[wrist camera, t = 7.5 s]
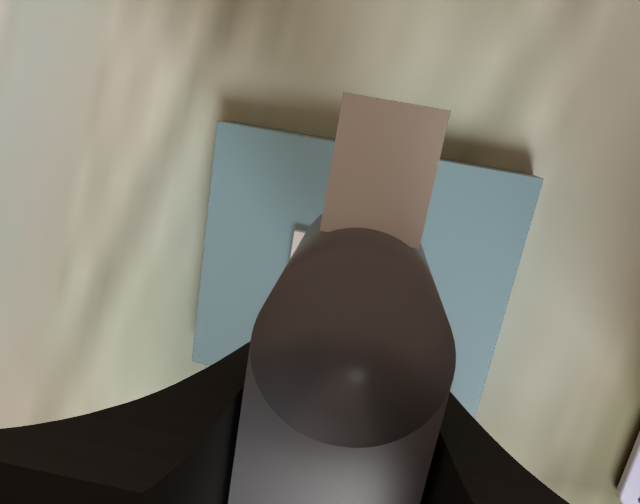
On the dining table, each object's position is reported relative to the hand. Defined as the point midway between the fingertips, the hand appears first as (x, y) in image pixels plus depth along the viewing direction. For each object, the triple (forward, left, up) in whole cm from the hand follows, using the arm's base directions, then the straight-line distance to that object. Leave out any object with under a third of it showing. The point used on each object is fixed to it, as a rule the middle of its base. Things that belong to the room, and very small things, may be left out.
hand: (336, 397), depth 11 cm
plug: (0, -1, -2) cm, 2 cm away
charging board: (0, 0, -10) cm, 10 cm away
